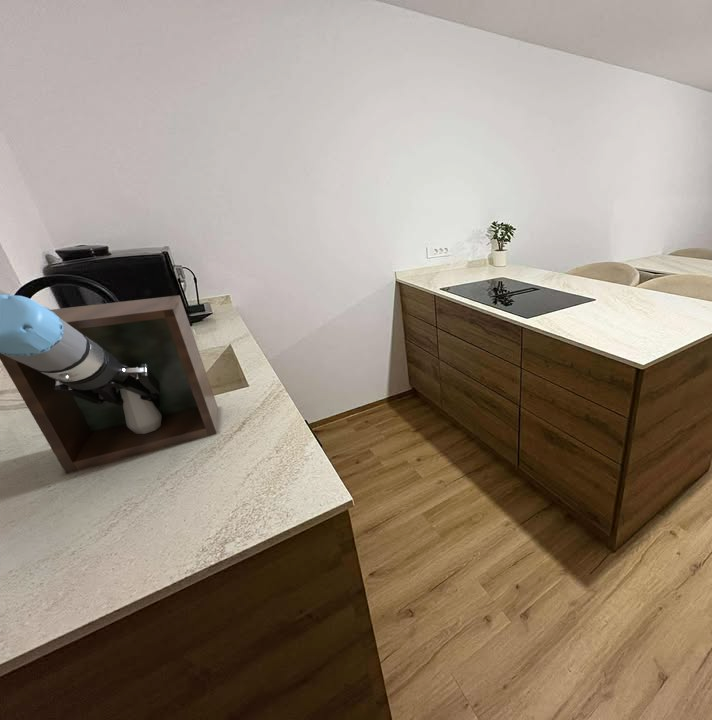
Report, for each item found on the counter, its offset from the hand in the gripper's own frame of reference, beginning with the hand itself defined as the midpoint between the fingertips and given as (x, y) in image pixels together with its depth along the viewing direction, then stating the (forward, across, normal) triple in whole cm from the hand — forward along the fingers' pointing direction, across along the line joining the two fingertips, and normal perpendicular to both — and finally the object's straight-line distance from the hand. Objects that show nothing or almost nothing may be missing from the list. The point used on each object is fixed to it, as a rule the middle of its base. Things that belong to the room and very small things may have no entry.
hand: (147, 403), depth 82 cm
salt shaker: (0, 0, -6) cm, 6 cm away
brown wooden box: (+2, 0, -7) cm, 7 cm away
